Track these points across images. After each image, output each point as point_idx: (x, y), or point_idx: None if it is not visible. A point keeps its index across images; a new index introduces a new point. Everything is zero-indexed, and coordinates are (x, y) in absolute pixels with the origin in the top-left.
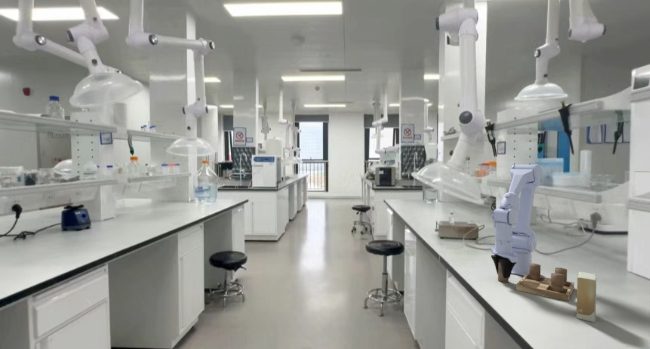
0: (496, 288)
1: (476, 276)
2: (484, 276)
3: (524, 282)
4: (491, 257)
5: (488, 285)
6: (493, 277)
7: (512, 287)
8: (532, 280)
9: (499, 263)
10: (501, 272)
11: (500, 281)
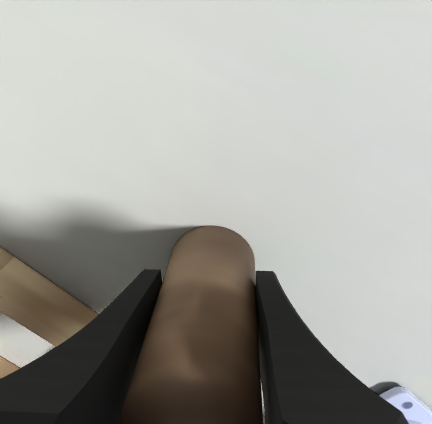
0: (7, 104)
1: (393, 71)
2: (368, 164)
3: None
4: (391, 404)
5: (86, 63)
6: (320, 233)
7: (60, 251)
8: None
9: (172, 373)
10: (168, 293)
11: (191, 232)
